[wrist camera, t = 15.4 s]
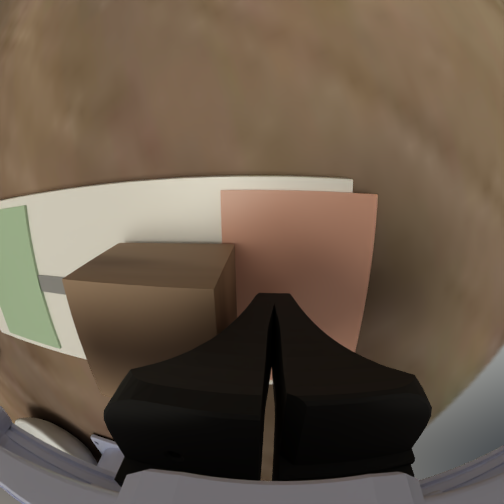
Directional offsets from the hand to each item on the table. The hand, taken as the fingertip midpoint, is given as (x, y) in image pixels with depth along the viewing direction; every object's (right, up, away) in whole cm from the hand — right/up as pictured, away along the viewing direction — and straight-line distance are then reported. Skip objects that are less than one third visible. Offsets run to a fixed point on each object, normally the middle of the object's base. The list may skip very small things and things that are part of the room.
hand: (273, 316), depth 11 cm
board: (-9, +1, +3) cm, 9 cm away
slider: (-4, 0, +1) cm, 4 cm away
